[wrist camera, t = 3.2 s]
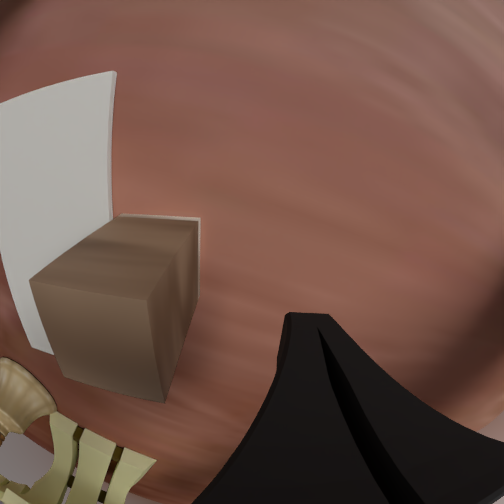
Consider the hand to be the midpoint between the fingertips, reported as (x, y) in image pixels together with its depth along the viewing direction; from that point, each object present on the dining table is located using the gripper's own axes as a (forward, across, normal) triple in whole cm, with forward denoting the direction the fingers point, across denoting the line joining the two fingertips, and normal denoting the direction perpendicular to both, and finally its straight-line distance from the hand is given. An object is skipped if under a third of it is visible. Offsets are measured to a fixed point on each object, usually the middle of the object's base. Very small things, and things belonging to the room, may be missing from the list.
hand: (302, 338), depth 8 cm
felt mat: (+5, +14, 0) cm, 15 cm away
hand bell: (+6, +24, +17) cm, 30 cm away
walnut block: (+6, +6, 0) cm, 8 cm away
